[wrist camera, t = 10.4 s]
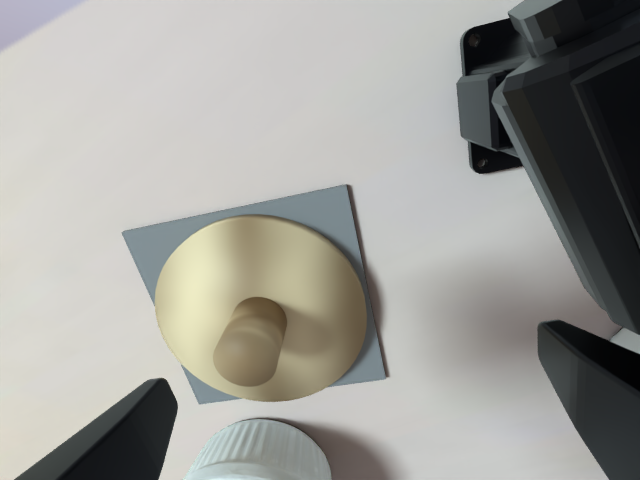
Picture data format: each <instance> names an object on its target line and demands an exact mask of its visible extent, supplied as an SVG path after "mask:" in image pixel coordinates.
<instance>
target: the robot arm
mask: <svg viewBox="0 0 640 480" xmlns="http://www.w3.org/2000/svg"><path fill="white" fill-rule="evenodd" d="M508 15H509V17H510V18H508V19H504V20H500V21H496V22H492V23H488V24H484V25H480V26H476V27H473V28H471V29H469V30H467V31H466V32H465V33H464V34H463V35H462V37H461V40H460V49H461V61H462V74H463V77H461V78H460V79H459V81H458V82H457V96H458V108H459V120H460V132H461V137H462V138H464V139H465V140H467V141H468V150H469V163H470V167H471V169H472V170H473V171H475V172H476V173H479V174H484V173H489V172H494V171H499V170H504V169H509V168H513V167H518V166H524V168H525V170H526V172H527V174H528V176H529V178H530V180H531V182H532V184H533V186H534V188H535V190H536V192H537V194H538V196H539V198H540V200H541V202H542V204H543V206H544V208H545V210H546V212H547V214H548V216H549V218H550V220H551V222H552V224H553V226H554V228H555V230H556V232H557V234H558V236H559V238H560V240H561V242H562V244H563V246H564V248H565V250H566V252H567V254H568V256H569V258H570V260H571V262H572V264H573V266H574V268H575V270H576V272H577V274H578V276H579V278H580V280H581V282H582V284H583V286H584V288H585V289H586V290H587V292H588V293H589V294H590V295H591V296H592V298H593V299H594V300H595V301H596V302H597V304H598V305H599V306H600V307H601V308H602V309H604V310H605V311H607V313H608V315H609V317H610V319H611V320H612V321H613V322H614V323H616V324H618V325H620V326H622V327H624V328H626V329H628V330H630V331H632V332H634V333H636V334H638V335H640V0H524V1H523V2H521V3H520V4H519V5H517V6H516V7H514V8H513V9H511V10H510V11H509V12H508ZM471 35H475V36H476V37H477V39H478V40H477V44H476V45H475V46H471V45H470V44H469V42H468V41H469V37H470V36H471ZM482 158H484V159H485V164H484V165H483V166H482V167H478V165H477V164H478V161H479V160H480V159H482ZM537 331H538V356H539V360H540V362H541V364H542V366H543V368H544V370H545V372H546V374H547V376H548V378H549V379H550V381H551V383H552V385H553V387H554V389H555V391H556V393H557V395H558V397H559V399H560V400H561V402H562V404H563V406H564V408H565V410H566V412H567V414H568V416H569V418H570V419H571V421H572V423H573V425H574V427H575V428H576V430H577V432H578V433H579V435H580V436H581V438H582V439H583V441H584V443H585V444H586V446H587V447H588V449H589V450H590V452H591V453H592V455H593V456H594V458H595V459H596V461H597V462H598V464H599V465H600V467H601V468H602V470H603V471H604V473H605V474H606V476H607V477H608V479H609V480H640V354H638V353H636V352H634V351H631V350H629V349H627V348H624V347H622V346H620V345H617V344H615V343H613V342H610V341H608V340H606V339H603V338H601V337H599V336H596V335H594V334H592V333H589V332H587V331H585V330H582V329H580V328H578V327H575V326H573V325H571V324H568V323H566V322H564V321H561V320H551V321H544V322H540V323H539V324H538V329H537ZM177 410H178V404H177V401H176V398H175V396H174V394H173V392H172V390H171V388H170V386H169V384H168V382H167V380H166V379H164V378H157V379H150V380H147V381H146V382H144V383H143V384H142V385H140V386H139V387H138V388H136V389H135V390H134V391H132V392H131V393H130V394H128V395H127V396H126V397H124V398H123V399H121V400H120V401H119V402H117V403H116V404H115V405H113V406H112V407H111V408H109V409H108V410H107V411H105V412H104V413H103V414H101V415H100V416H99V417H97V418H96V419H95V420H93V421H92V422H91V423H89V424H88V425H87V426H85V427H84V428H83V429H81V430H80V431H79V432H77V433H76V434H75V435H73V436H72V437H71V438H69V439H68V440H67V441H65V442H64V443H62V444H61V445H60V446H58V447H57V448H56V449H54V450H53V451H52V452H50V453H49V454H48V455H46V456H45V457H44V458H42V459H41V460H40V461H38V462H37V463H36V464H34V465H33V466H32V467H30V468H29V469H28V470H26V471H25V472H24V473H22V474H21V475H20V476H18V477H17V478H16V479H14V480H158V479H159V476H160V473H161V470H162V467H163V463H164V460H165V456H166V452H167V448H168V445H169V441H170V437H171V434H172V430H173V426H174V422H175V419H176V415H177Z"/></svg>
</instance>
